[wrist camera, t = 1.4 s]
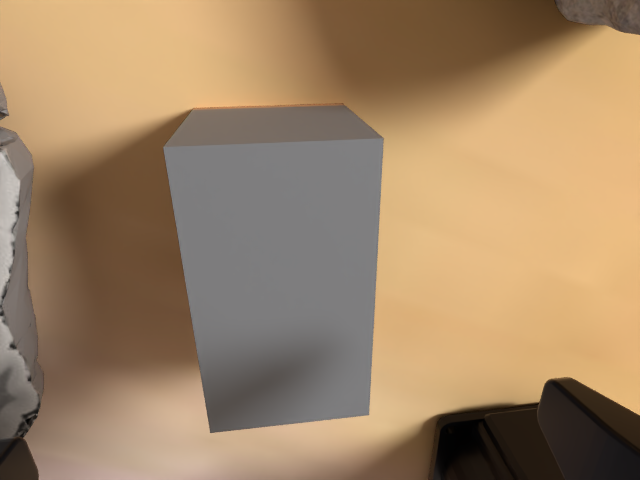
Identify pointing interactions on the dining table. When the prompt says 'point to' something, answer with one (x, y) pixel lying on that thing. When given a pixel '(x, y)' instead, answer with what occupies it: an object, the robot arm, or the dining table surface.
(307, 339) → the block
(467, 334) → the dining table surface
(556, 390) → the robot arm
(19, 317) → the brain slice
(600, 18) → the decorative stone
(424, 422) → the dining table surface
